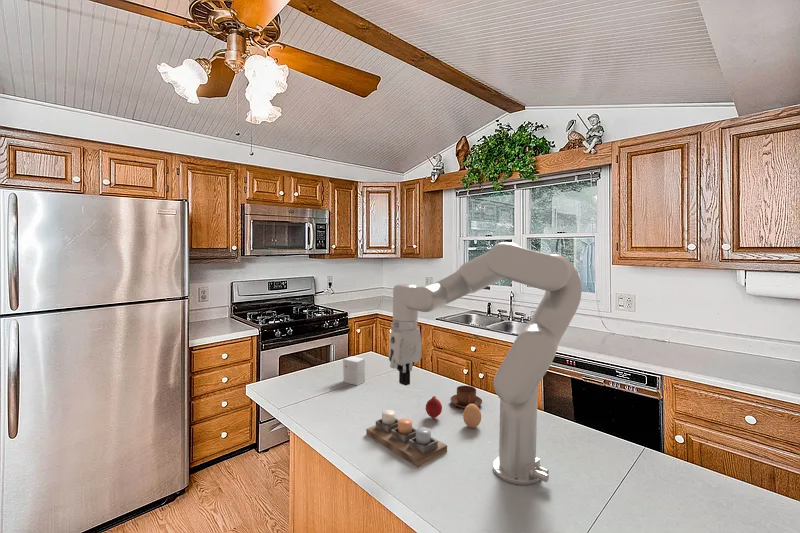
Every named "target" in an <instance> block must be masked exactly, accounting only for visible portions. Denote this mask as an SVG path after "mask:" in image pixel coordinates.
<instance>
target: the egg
mask: <svg viewBox="0 0 800 533" xmlns="http://www.w3.org/2000/svg"><path fill="white" fill-rule="evenodd" d="M462 419H463V421H464V422H463V423H464V424H465V425H466V426H467V427H469V428H472V429H473V428H477V427H478V426H479V425H480V424H481V421H482V412H481V411H480V408H479V406H478V407H477V406H476V405H475V404H469V405H467V406H466V408H464V409H463V414H462Z"/></svg>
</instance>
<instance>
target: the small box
mask: <svg viewBox="0 0 800 533" xmlns="http://www.w3.org/2000/svg"><path fill="white" fill-rule="evenodd" d="M342 361H343V362H342V363H343V364H342V365H343V367H342V368H343V370H342V371H343V383H346V384H351V385H354V386H359V385H361V384H362V383H365V382H366V371H365V370H366V366H365V365H366V364H365V363H366V362H365V358H362V357H356V356H352V355H351V356H348V357H346V358H343V359H342Z"/></svg>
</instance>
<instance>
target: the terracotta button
mask: <svg viewBox="0 0 800 533" xmlns="http://www.w3.org/2000/svg"><path fill="white" fill-rule="evenodd" d="M412 427H413V420H412V419H410V418H404V417H403V418H400V419H398V432H399V433H400V434H404V435H407V434H410V433H412Z"/></svg>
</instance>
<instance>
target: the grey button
mask: <svg viewBox="0 0 800 533" xmlns="http://www.w3.org/2000/svg"><path fill="white" fill-rule="evenodd" d="M415 429H416V443H418V444H420V445H427V444H429V443H430V442H431V437H432V430H431V429H430V428H429V427H419V428H415Z"/></svg>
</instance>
